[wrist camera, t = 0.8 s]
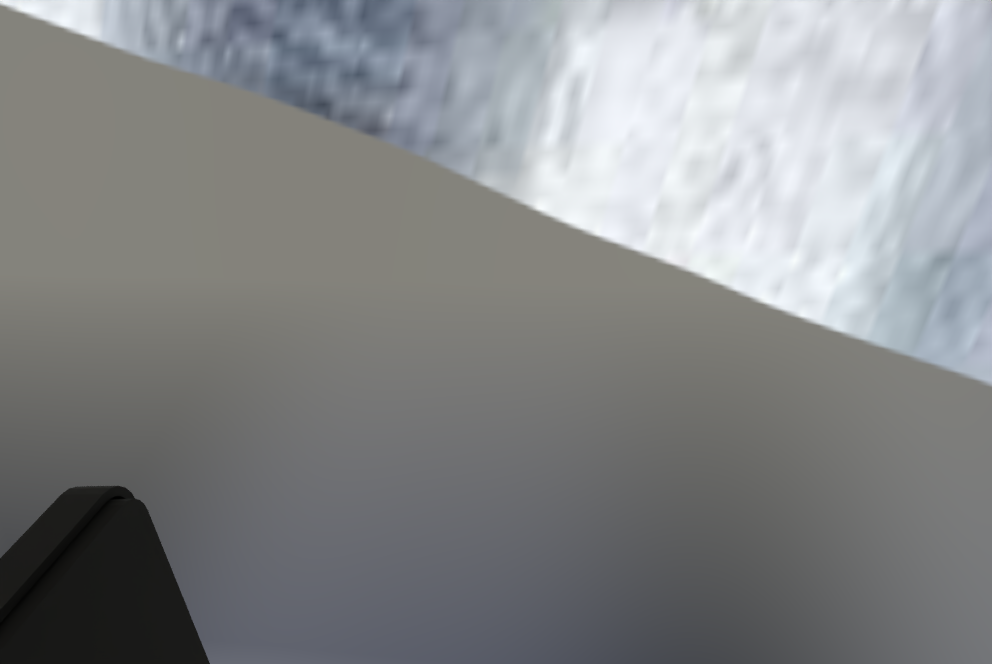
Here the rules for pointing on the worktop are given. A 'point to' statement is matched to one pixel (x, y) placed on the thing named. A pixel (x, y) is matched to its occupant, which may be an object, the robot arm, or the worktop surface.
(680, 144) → the worktop surface
